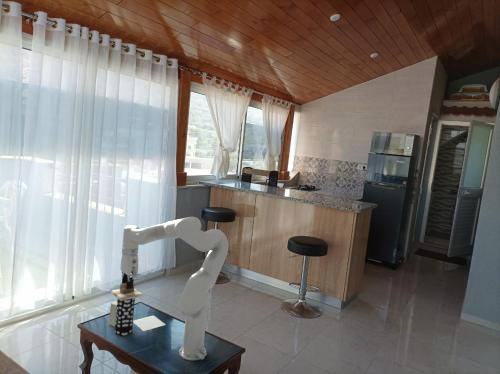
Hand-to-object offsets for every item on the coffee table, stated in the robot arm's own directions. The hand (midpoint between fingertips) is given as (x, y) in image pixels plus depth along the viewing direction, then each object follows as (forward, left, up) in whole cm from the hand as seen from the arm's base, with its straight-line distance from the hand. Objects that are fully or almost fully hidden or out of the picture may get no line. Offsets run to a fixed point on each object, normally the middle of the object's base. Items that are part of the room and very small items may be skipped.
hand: (127, 286), depth 177 cm
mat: (+2, -15, -24) cm, 28 cm away
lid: (0, 0, -4) cm, 4 cm away
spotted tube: (0, 0, -24) cm, 24 cm away
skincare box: (+10, -1, -24) cm, 26 cm away
